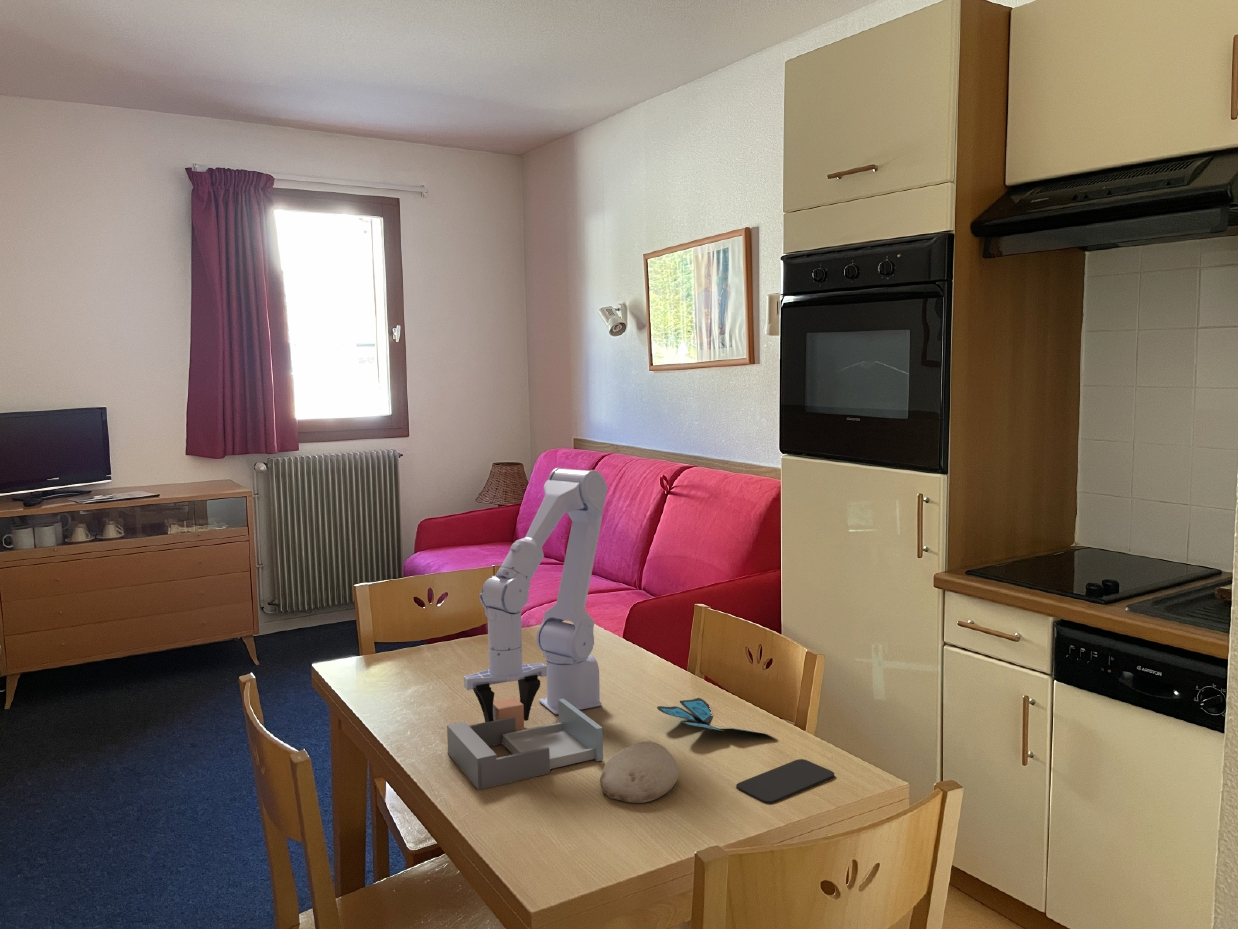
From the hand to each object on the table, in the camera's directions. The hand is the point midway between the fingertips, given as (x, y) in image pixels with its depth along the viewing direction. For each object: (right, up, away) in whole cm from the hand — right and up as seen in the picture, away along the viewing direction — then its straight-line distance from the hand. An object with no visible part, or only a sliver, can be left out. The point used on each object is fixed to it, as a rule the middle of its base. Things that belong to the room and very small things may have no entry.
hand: (507, 722), depth 159 cm
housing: (0, -3, -13) cm, 13 cm away
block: (0, -2, 0) cm, 2 cm away
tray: (+7, -2, -10) cm, 12 cm away
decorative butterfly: (+35, -1, 0) cm, 35 cm away
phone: (+45, -4, -21) cm, 49 cm away
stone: (+23, -4, -22) cm, 32 cm away
